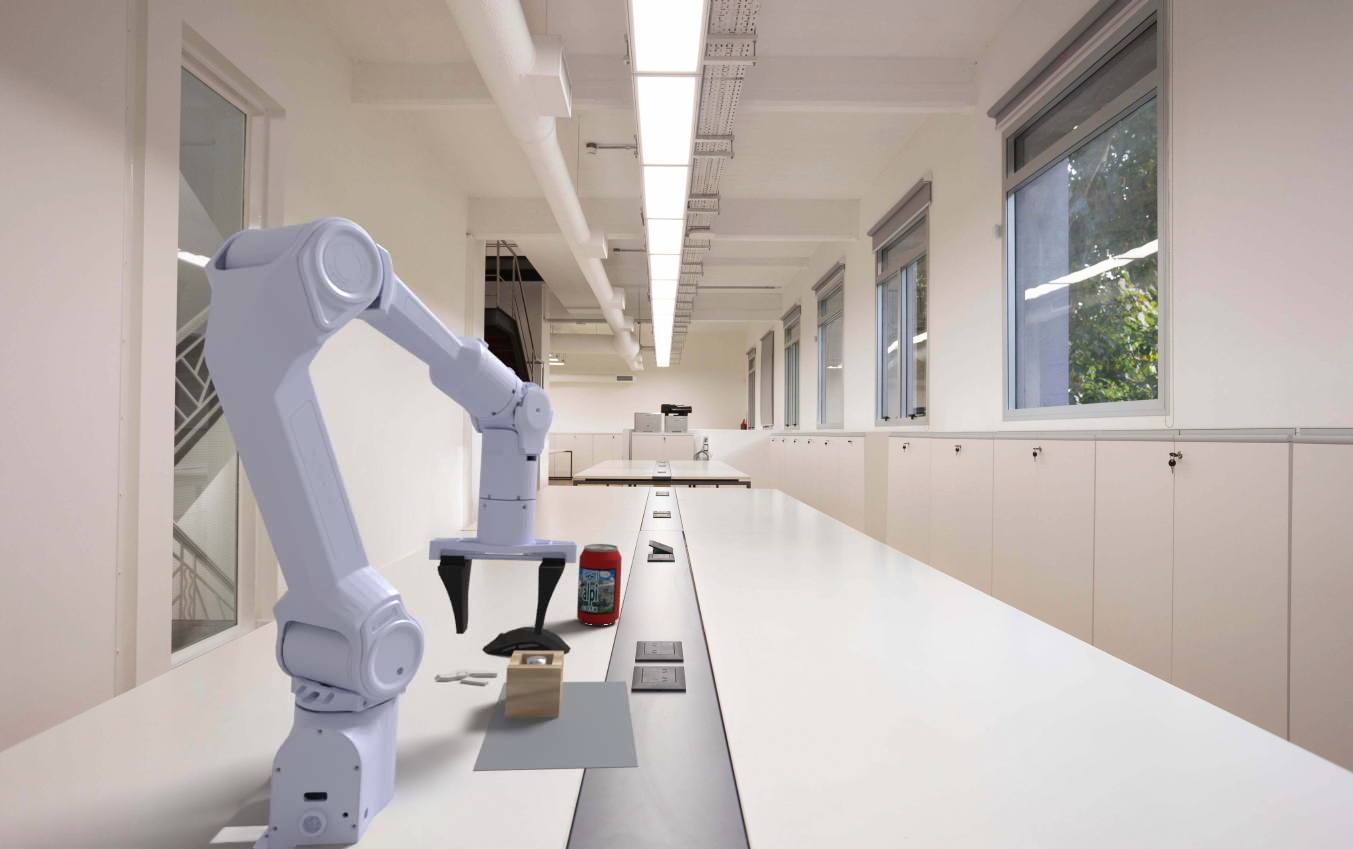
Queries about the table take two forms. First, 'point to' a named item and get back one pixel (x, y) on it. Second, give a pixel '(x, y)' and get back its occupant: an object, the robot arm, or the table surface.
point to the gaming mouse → (525, 642)
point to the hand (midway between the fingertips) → (500, 631)
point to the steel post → (536, 660)
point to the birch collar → (534, 685)
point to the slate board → (564, 733)
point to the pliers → (467, 676)
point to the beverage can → (599, 584)
